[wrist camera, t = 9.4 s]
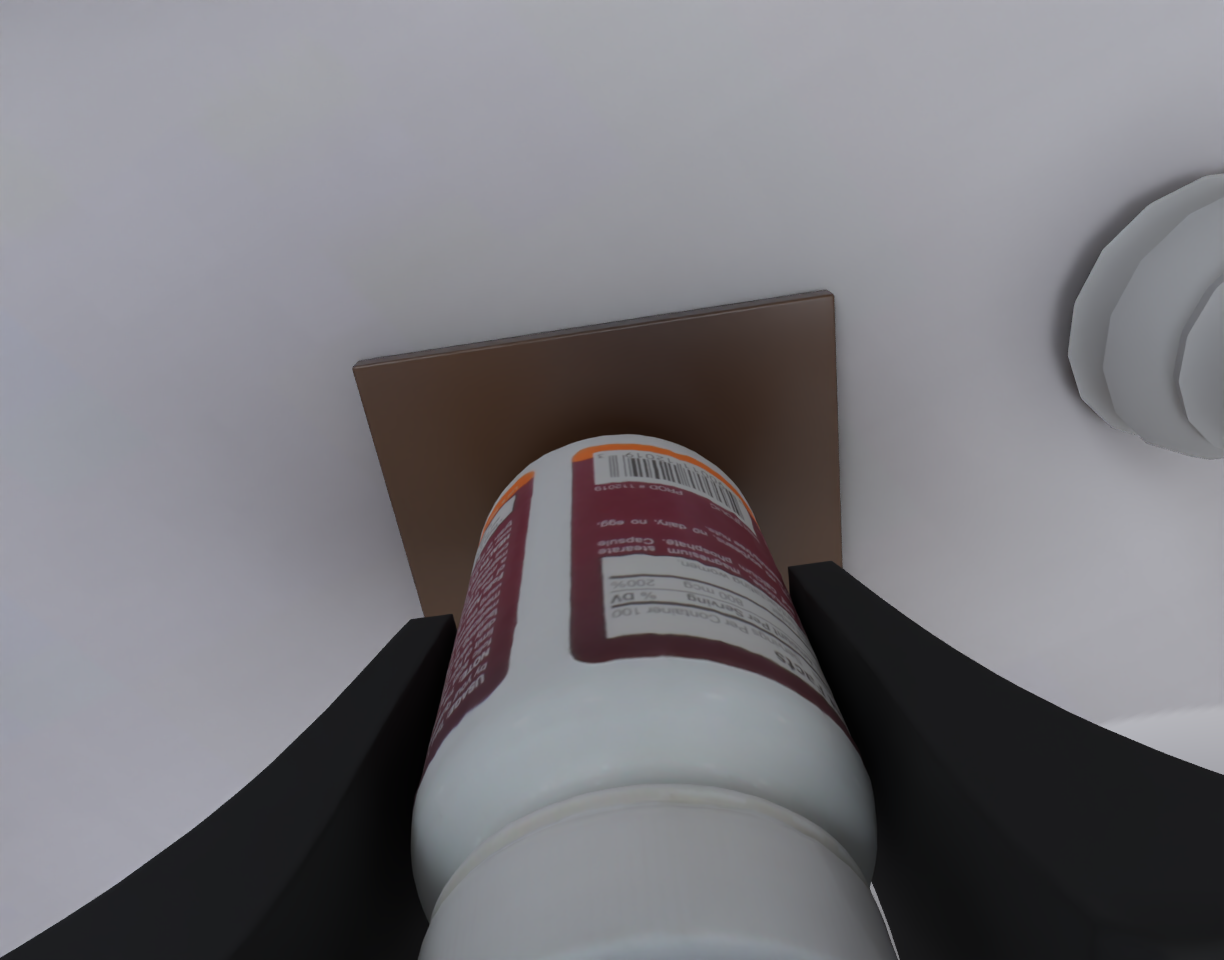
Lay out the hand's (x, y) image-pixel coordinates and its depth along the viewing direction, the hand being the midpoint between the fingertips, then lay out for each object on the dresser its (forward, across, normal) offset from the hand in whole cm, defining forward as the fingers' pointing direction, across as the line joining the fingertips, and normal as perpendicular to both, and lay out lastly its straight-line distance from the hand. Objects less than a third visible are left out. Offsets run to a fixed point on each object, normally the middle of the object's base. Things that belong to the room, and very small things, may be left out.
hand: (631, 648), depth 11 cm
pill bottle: (+3, 0, 0) cm, 3 cm away
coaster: (+4, 0, 0) cm, 4 cm away
